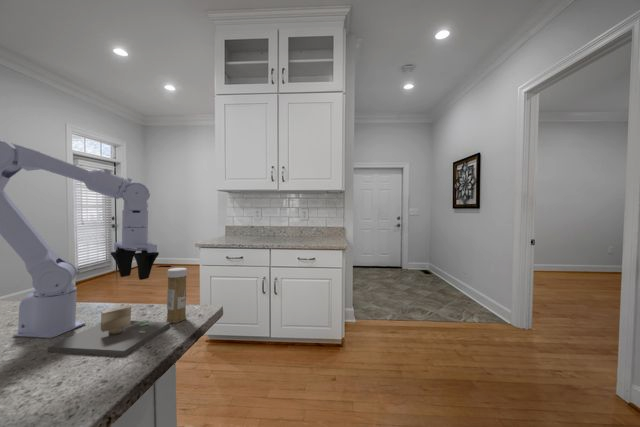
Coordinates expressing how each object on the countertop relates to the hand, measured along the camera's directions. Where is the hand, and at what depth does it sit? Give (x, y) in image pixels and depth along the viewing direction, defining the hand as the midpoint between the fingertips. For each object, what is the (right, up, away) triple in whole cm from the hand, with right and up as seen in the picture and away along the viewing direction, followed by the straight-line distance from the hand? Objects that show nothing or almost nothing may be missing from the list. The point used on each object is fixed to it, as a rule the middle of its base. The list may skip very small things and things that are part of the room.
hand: (134, 277), depth 71 cm
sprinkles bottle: (+13, -11, -2) cm, 17 cm away
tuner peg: (+6, -9, -11) cm, 16 cm away
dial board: (+5, -10, -13) cm, 17 cm away
